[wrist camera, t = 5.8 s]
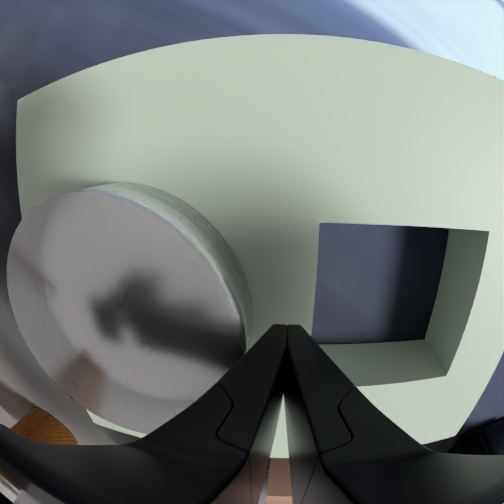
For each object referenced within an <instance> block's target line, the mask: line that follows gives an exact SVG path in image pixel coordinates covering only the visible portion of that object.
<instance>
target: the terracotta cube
mask: <svg viewBox="0 0 504 504" xmlns="http://www.w3.org/2000/svg"><path fill="white" fill-rule="evenodd" d="M266 504H293V502H292V489H291V476H290V464H289V458H270V465H269V476H268V486H267V495H266Z"/></svg>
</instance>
